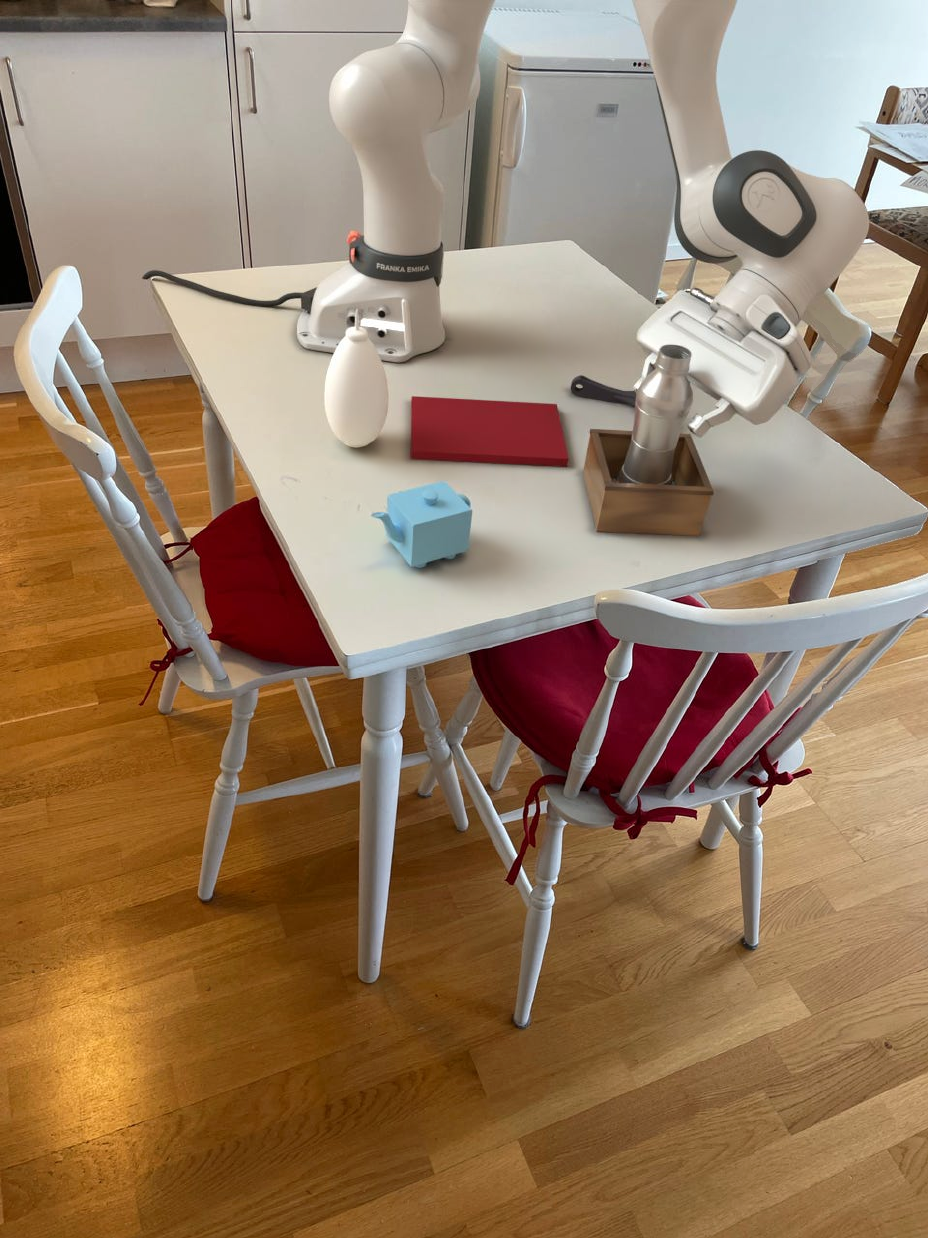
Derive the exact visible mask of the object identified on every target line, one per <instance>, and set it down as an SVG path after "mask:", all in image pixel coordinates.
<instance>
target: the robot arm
mask: <svg viewBox="0 0 928 1238" xmlns="http://www.w3.org/2000/svg"><path fill="white" fill-rule="evenodd" d="M406 1H407V3H408V5H407V16H406V22H405V26H404V30H403V33H402V34H401V36H400V37H399V39H398V40H396V42H395V43H394V44H392V45H388V46H385V47H380V48H376V49H372V50H368V51H365V52H363V53H361V54H359V55H357V56H356V57H354V58H353V59H352V60H350V61H348V63H346V64H345V65H344V66H342V67H341V68H340V69H339V70H338V71H337V72H336V73H335V75H334V76H333V78H332V81H331V83H330V86H329V90H328V91H329V92H328V106H329V112H330V116H331V118H332V122H333V124H334V126H335V129H336V130H337V131H338V133H339V134H340V135H341V137H342V138H343V139H344V140H345V141H346V142H347V143H349V144H350V146H351V147H352V149H353V152H354V154H355V157H356V159H357V162H358V167H359V170H360V176H361V182H362V191H363V192H362V193H363V234H360V233H361V232H359V231H358V230H350V231H349V233H348V235H347V241H346V243H347V245H348V247H349V249H348V251H349V252H348V261H349V262H347V263H346V264H344V265H343V266H341V267H340V268H338V269H337V270H335V271H334V272H332V273H330V274H329V275H327V276H326V277H324V278H323V279H322V280H321V281H320V282H319V283H318V285H317V286H316V287H314V288H311V289H308V290H306V291H304V292H289V293H286V294H284V295H282V296H280V297H279V298H277V299H273V300H257V299H252V298H247V297H242V296H239V295H235V294H232V293H228V292H223V291H220V290H216V289H214V288H211V287H207V286H204V285H202V284H199V283H197V282H194V281H192V280H188V279H185V278H181V277H178V276H176V275H173V274H171V273H168V272H165V271H163V270H158V269H152V270H149V271H147V272H146V273H144V274H143V276H141V279H142V280H149V279H151V278H152V277H160V278H163V279H166V280H168V281H171V282H173V283H176V284H179V285H182V286H185V287H189V288H192V289H195V290H197V291H199V292H203V293H204V294H206V295H207V294H208V295H210V296H214V297H217V298H221V299H226V300H229V301H233V302H237V303H240V304H244V305H248V306H254V307H263V308H265V307H267V308H271V307H278V306H280V305H282V304H284V303H286V302H287V301H290V300H295V299H300V309H302V310H303V311H302V312H301V313H300V315H299V317H298V319H297V322H296V339H297V340H298V342H299V344H300V345H301V346H302V347H304V348H305V349H306V350H311V351H318V352H325V353H332V354H334V352H335V350H336V348H337V346H338V345H339V343H340V342H341V341H342V339H343V338H344V337H345V336H346V330H347V329H348V328H350V327H355V313H356V309H358V315H359V327H362V328H364V329H366V330H367V332H368V338H369V339H370V340H371V342H372V343H373V345H374V346H375V348H376V350H377V352H378V354H379V356H380V359H381V361H386V362H392V363H405V362H406V361H408V360H410V359H412V358H413V357H415V356H417V355H421V354H425V353H429V352H431V351H433V350H436V349H437V348H439V347H440V346H441V345H442V344H443V343H444V342H445V341H446V331H445V327H444V323H443V316H442V309H441V297H440V296H441V294H440V285H441V284H442V279H443V271H444V258H445V257H444V255H445V252H444V244H443V242H442V228H443V227H442V226H443V214H444V196H445V193H444V187H443V184H442V182H441V180H440V179H439V178H438V177H437V176H436V174H434V173H433V172H432V168H431V164H430V160H429V155H428V140H429V136H430V134H433V133H435V132H438V131H441V130H444V129H447V128H449V127H451V126H452V125H454V124H456V123H457V122H458V121H459V120H461V118H463V117H464V116H465V115H466V114H467V113H468V112H469V111H470V110H471V109H472V108H473V107H474V106H475V104H476V103H477V100H478V98H479V94H480V90H481V72H480V67H479V64H478V59H479V54H480V48H481V43H482V39H483V35H484V31H485V28H486V25H487V21H488V19H489V16H490V14H491V11H492V9H493V8H494V5H495V2H496V0H406ZM631 1H632V4H633V8H634V11H635V14H636V18H637V20H638V24H639V27H640V30H641V34H642V37H643V40H644V43H645V48H646V51H647V55H648V58H649V62H650V67H651V69H652V72H653V76H654V81H655V87H656V91H657V97H658V101H659V105H660V109H661V114H662V118H663V123H664V126H665V131H666V137H667V141H668V144H669V149H670V154H671V158H672V163H673V167H674V171H675V178H676V179H675V180H676V194H675V203H674V212H673V213H674V214H673V222H674V223H673V225H674V230H675V234H676V235H675V236H676V238H677V240H678V242H679V244H680V245H681V247H682V248H683V249H684V251H685V252H686V253H687V254H689V256H691V257H692V258H693V259H695V260H697V261H700V262H702V263H706V264H711V265H713V264H714V265H718V264H725V263H727V262H730V261H733V260H735V259H736V258H739V259H740V260H741V261H740V262H741V267H740V268H739V269H738V270H737V271H736V273H734V275H733V276H732V277H731V278H730V279H729V281H728V282H727V283H726V284H725V285H724V287H723V288H721V290H720V291H719V292H718V293H717V294H716V296H715V297H714V296H713V295H711V294H709V293H706V292H704V291H703V290H702V289H701V288H700V287H696V286H695V287H692V288H685V289H680V290H678V291H677V292H675V294H674V295H673V296H672V297H671V298H670V299H668V300H667V301H666V302H665V303H663V305H661V306H660V307H659V308H658V309H657V310H655V312H653V314H651V316H649V317H648V319H647V320H645V322H644V323H643V324H642V325H641V326H639V328H638V330H637V333H636V343H637V344H638V345H639V347H640V348H641V349H642V351H643V352H644V353H645V354H646V355H648V357H646V359H645V361H644V365H643V368H642V373H641V376H640V378H639V379H638V380H637V382H635V383H634V385H633V387H632V391H635V392H636V393H637V389H638V387H639V386H640V384H641V382H642V381H643V380H644V379H645V378H646V377H647V376H648V375H649V374H650V373H651V372H653V371H654V370H655V369H656V367H655V361H656V359H657V357H658V352H659V349H660V347H662V346H664V345H668V344H674V345H680V346H683V347H685V348H687V349H689V350H690V351H691V353H692V357H691V361H690V368H689V371H688V372H687V373H686V376H687V378H688V380H689V382H690V384H692V385H693V386H695V387H696V388H697V389H699V390H701V391H702V392H704V393H705V394H707V395H708V396H710V397H711V398H713V399H714V400H715V401H716V403H715V405H714V407H715V409H713V410H712V411H710V412H708V413H705V414H704V415H700V414H699V413H696V414H695V415H694V416H693V417H692V419H691V420H689V422H688V423H687V425H686V427H687V429H688V431H690V433H692V434H693V435H694V436H696V437H697V438H699V439H701V438H703V437H704V436H705V434H707V433H708V431H709V430H710V429H711V428H715V427H717V426H719V425H721V424H724V423H726V422H728V421H731V419H732V418H733V417H734V416H735V415H736V414H737V415H739V416H740V417H742V418H743V419H744V420H746V421H748V422H749V423H751V424H752V425H754V426H758V425H762V424H765V423H767V422H769V421H770V420H771V419H772V418H773V417H774V416H775V415H776V414H777V413H778V412H779V411H780V409H781V408H782V407H783V406H784V404H785V403H786V402H787V401H788V400H789V398H790V397H791V395H792V394H793V392H794V391H795V389H796V388H797V385H798V382H799V375H804V374H805V373H807V372H808V371H809V370H810V369H811V367H812V366H813V364H814V361H813V360H814V359H813V357H812V355H811V352H810V350H809V348H808V346H807V344H806V341H805V340H804V338H803V336H802V334H801V333H800V332H799V330H798V328H797V327H796V325H797V324H798V323H799V322H800V320H801V319H802V318H803V316H804V313H805V312H806V310H807V308H808V307H809V305H810V304H811V303H812V302H813V301H814V300H815V299H817V298H818V297H820V296H821V295H823V294H824V293H825V292H827V290H828V289H829V288H831V286H832V285H833V284H834V282H835V281H836V280H837V279H838V278H839V276H841V274H842V273H843V272H844V270H845V269H846V268H847V266H848V265H849V264H850V263H851V261H852V260H853V259H854V258H855V256H856V254H858V252H859V251H860V249H861V248H862V246H863V244H864V242H865V240H866V238H867V236H868V233H869V230H870V217H869V213H868V209H867V207H866V204H865V201H864V200H863V199H862V197H861V195H860V194H859V193H858V192H857V190H855V189H854V188H853V187H852V186H851V185H849V184H848V183H847V182H845V181H844V180H843V179H840V178H836V177H820V176H816V175H813V174H810V173H806V172H803V171H801V170H799V169H797V168H796V167H794V166H791V165H790V164H789V163H787V162H786V161H785V160H784V159H783V158H782V157H780V156H779V155H777V154H775V153H773V152H770V151H767V150H762V149H760V150H758V149H755V150H747V151H745V152H742V153H740V154H738V155H736V156H734V157H732V155H731V151H730V145H729V141H728V136H727V131H726V127H725V121H724V117H723V113H722V107H721V101H720V98H719V93H718V86H717V85H718V84H717V72H718V63H719V62H718V61H719V56H720V52H721V48H722V44H723V42H724V38H725V35H726V32H727V29H728V28H729V27H728V26H729V24H730V21H731V19H732V17H733V14H734V11H735V9H736V6H737V3H738V0H631Z"/></svg>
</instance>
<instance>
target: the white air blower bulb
mask: <svg viewBox="0 0 928 1238" xmlns="http://www.w3.org/2000/svg"><path fill="white" fill-rule="evenodd" d="M382 361H383V360H381V359H380V356H379V354H378V352H377V350H376V348H375V346H374V345H373V343H372V342H371V340H370V339H369V338H368V332H367V330H366V329H364V328H362V327H359V315H358V309H356V313H355V327H350V328H348V329H347V330H346V336H345V337H344V338H343V339H342V341H341V342H340V343H339V345H338V346H337V348H336V350H335V352H334V353H332V357H331V360H330V362H329V365H328V368H327V370H326V371H327V372H326V375H325V382H324V389H323V390H324V391H323V392H324V396H323V398H324V399H323V400H324V411H325V416H326V419H327V422H328V425H329V427H330V429H331V431H332V432H333V434H334V436H335V437H336V438H337V439H338V440H339V441H340V442H342V443H343V444H344V445H346V446H347V447H351V448H362V447H366V446H368V445H369V444H370V443H372V442H374V441H375V440H377V438H378V436H379V435H380V434H381V432H382V430H383V428H384V426H385V423H386V419H387V416H388V412H389V386H388V378H387V375H386V371H385V367H384V365H383V362H382Z"/></svg>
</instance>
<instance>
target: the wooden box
mask: <svg viewBox="0 0 928 1238" xmlns="http://www.w3.org/2000/svg"><path fill="white" fill-rule="evenodd" d="M632 432H633V430H622V429H601V428H589V439H588V443H587V448H586V453H585V459H584V465H583V470H582V475H583V479H584V485H585V489H586V493H587V498H588V501H589V506H590V510H591V514H592V518H593V523H594V526H595V527H594V528H595V531H596V532H602V533H626V534H627V533H628V534H648V535H649V534H651V535H673V536H692V537H693V536H694V537H695V536H697V537H699V536H700V534H701V531H702V528H703V525H704V522H705V519H706V515H707V511H708V508H709V505H710V501H711V498H712V496H713V495H714V492H715V491H714V488H713V487H712V483H711V481H710V479H709V476H708V474H707V471H706V469H705V467H704V464H703V461H702V459H701V457H700V454H699V452H698V449H697V447H696V444H695V441H694V439H693V437H692V434H691V433H682V432H680V436H679V439H678V441H677V445H676V448H675V451H674V457H673V463H672V469H671V481H674V484H671V485H655V484H634V483H617V482H612V478H616V479H618V476H619V473H620V470H621V468H622V466H623V465H624V462H625V459H626V456H627V453H628V450H629V447H630V443H631V438H632V434H633V433H632Z"/></svg>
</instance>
